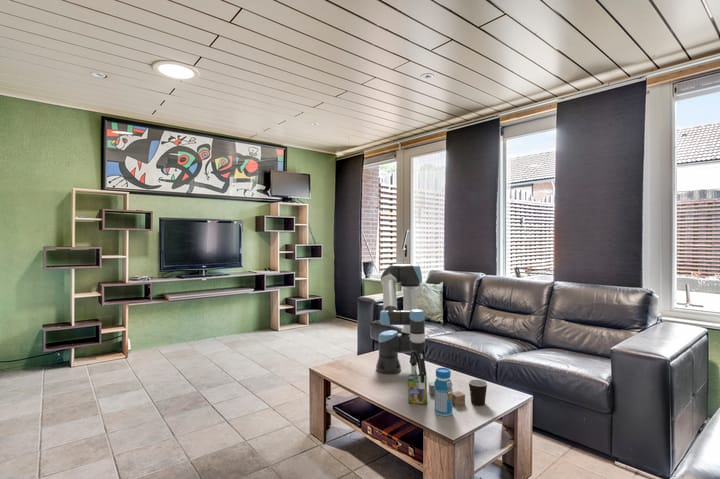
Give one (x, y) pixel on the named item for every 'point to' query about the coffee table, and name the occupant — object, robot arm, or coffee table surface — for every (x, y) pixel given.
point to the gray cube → (431, 388)
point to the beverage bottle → (443, 392)
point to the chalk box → (416, 390)
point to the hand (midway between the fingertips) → (417, 383)
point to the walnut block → (458, 398)
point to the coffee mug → (478, 392)
